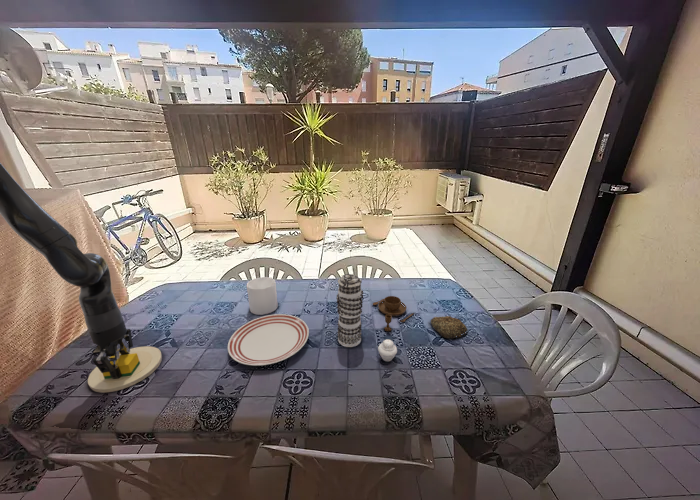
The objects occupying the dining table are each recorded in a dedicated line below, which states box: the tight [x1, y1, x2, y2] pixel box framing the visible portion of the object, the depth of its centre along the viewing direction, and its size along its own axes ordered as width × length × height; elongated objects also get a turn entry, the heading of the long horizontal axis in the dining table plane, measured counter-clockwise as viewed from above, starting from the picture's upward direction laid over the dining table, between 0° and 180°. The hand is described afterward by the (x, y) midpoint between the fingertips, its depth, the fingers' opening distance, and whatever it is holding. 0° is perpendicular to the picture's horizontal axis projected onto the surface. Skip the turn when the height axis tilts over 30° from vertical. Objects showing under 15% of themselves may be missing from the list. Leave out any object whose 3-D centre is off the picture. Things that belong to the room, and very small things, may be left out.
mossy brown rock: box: [430, 315, 468, 339], centre depth 104 cm, size 13×12×5 cm
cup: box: [246, 276, 279, 316], centre depth 116 cm, size 12×12×12 cm
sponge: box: [103, 353, 140, 379], centre depth 81 cm, size 7×5×4 cm
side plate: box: [87, 345, 163, 394], centre depth 84 cm, size 18×18×1 cm
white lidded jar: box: [377, 338, 398, 362], centre depth 88 cm, size 6×6×7 cm
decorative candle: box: [336, 273, 364, 348], centre depth 94 cm, size 9×9×25 cm
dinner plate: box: [227, 313, 310, 367], centre depth 96 cm, size 28×27×3 cm
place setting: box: [372, 295, 414, 333], centre depth 113 cm, size 18×20×6 cm
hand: (122, 370), depth 82 cm, fingers closed on sponge, 5 cm apart
